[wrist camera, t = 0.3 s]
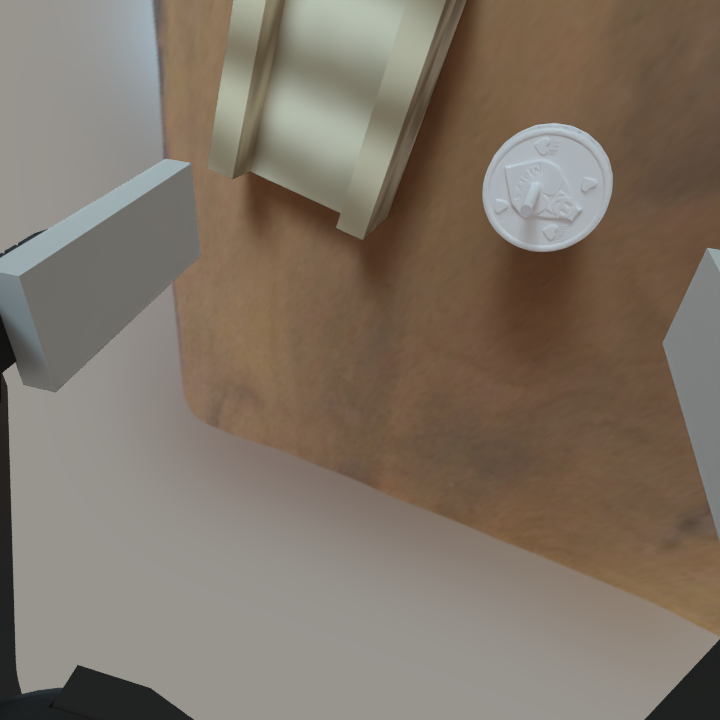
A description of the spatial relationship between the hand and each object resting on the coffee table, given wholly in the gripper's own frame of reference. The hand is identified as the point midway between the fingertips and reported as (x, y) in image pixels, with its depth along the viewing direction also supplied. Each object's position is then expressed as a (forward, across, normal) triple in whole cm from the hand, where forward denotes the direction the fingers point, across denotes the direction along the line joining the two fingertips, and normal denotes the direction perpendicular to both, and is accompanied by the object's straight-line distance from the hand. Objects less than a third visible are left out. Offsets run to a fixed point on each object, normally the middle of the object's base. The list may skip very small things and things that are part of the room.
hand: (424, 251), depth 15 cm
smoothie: (+26, +5, -4) cm, 27 cm away
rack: (+28, -10, -1) cm, 29 cm away
